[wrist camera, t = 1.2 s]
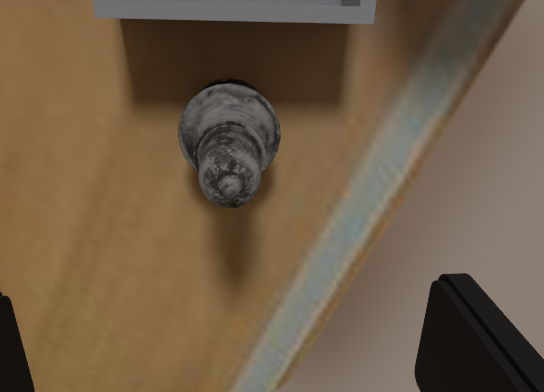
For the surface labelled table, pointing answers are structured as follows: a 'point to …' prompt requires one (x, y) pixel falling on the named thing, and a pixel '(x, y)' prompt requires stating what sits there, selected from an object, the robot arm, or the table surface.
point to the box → (241, 10)
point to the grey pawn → (229, 140)
